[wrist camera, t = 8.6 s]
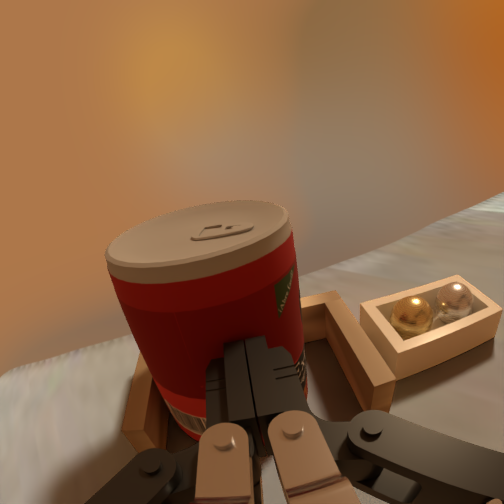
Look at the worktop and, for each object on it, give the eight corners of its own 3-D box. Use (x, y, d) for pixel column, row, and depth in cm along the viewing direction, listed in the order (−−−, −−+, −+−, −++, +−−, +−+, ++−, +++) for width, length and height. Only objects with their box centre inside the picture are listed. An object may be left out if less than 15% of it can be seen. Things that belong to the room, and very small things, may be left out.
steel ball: (454, 305, 20) (459, 270, 19) (476, 325, 18) (485, 289, 16) (424, 316, 20) (429, 280, 19) (446, 338, 17) (454, 301, 16)
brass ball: (416, 319, 20) (420, 283, 19) (437, 342, 17) (445, 304, 16) (380, 330, 20) (383, 293, 19) (400, 356, 17) (406, 318, 16)
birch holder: (336, 324, 23) (335, 290, 22) (388, 414, 14) (396, 378, 13) (160, 358, 22) (147, 326, 21) (144, 460, 14) (121, 430, 12)
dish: (453, 300, 22) (457, 274, 21) (494, 336, 17) (502, 309, 16) (359, 330, 21) (360, 303, 20) (393, 382, 16) (398, 353, 15)
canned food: (326, 435, 14) (317, 233, 10) (175, 465, 13) (75, 285, 9) (290, 350, 21) (268, 190, 17) (177, 373, 20) (124, 221, 16)
